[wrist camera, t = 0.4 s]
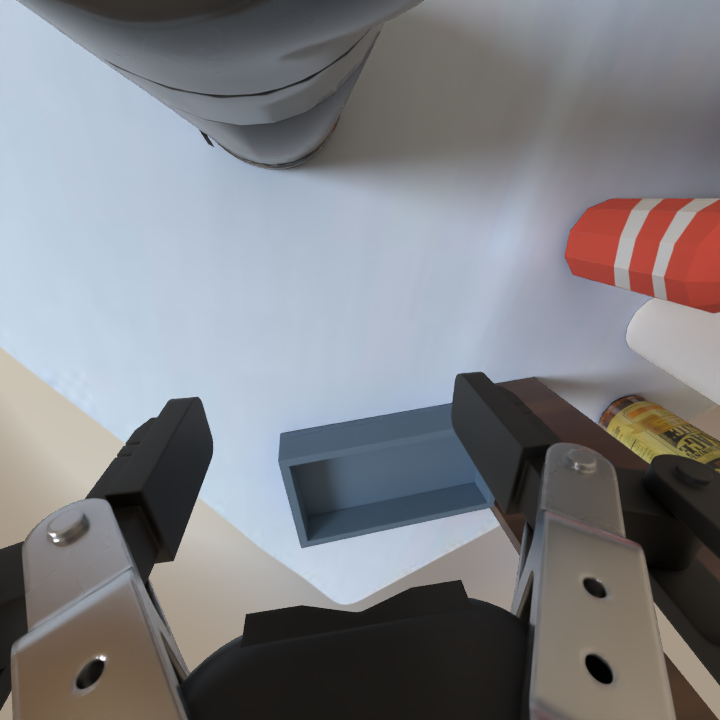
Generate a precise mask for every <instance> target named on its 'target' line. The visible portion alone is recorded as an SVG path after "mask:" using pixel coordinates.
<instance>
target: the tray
mask: <svg viewBox="0 0 720 720" xmlns="http://www.w3.org/2000/svg"><path fill="white" fill-rule="evenodd" d="M451 410H452V403H451V404H445V405H440V406H434V407H428V408H423V409H417V410H411V411H406V412H400V413H394V414H389V415H383V416H377V417H372V418H366V419H360V420H355V421H349V422H343V423H338V424H332V425H326V426H321V427H315V428H309V429H304V430H298V431H292V432H287V433H281V434H280V446H279V459H278V462H279V466H280V470H281V474H282V477H283V481H284V485H285V489H286V493H287V496H288V500H289V504H290V508H291V511H292V515H293V519H294V523H295V526H296V530H297V534H298V538H299V541H300V545H301V548H305V547H309V546H314V545H319V544H323V543H328V542H333V541H337V540H342V539H347V538H351V537H356V536H361V535H365V534H370V533H375V532H379V531H384V530H389V529H393V528H398V527H403V526H407V525H412V524H416V523H421V522H426V521H430V520H435V519H440V518H444V517H449V516H454V515H458V514H463V513H468V512H472V511H477V510H482V509H486V508H491V507H494V502H495V498H494V496H493V494H492V493H491V491H490V489H489V488H488V486H487V484H486V483H485V481H484V479H483V478H482V476H481V475H480V473H479V471H478V470H477V468H476V466H475V465H474V463H473V461H472V460H471V458H470V456H469V455H468V453H467V451H466V450H465V448H464V446H463V445H462V443H461V441H460V440H459V438H458V436H457V435H456V433H455V431H454V429H453V426H452V421H451Z"/></svg>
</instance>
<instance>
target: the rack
mask: <svg viewBox="0 0 720 720" xmlns="http://www.w3.org/2000/svg"><path fill="white" fill-rule="evenodd" d="M495 385H500V386H502V387H504V388H505V389H507V390H509V391H511V392H513V393H514V394H515V395H516V396H518V397H519V398H520V399H521V400H522V401H523V402H524V405H527V406H528V407H529V408H530V409H531V410H532V411H533V414H536V415H537V416H538V417H539V418H540V419H541V420H542V421H543V422H544V423H545V424H546V425H547V426H548V427H549V428H550V429H551V430H552V431H553V432H554V433H555V434H556V435H557V436H558V437H559V438H560V439H561V440H562V441H563V442H564V443H574V444H579V445H582V446H585V447H588V448H590V449H592V450H594V451H596V452H598V453H599V454H601V455H602V456H604V457H605V458H606V459H607V460H608V461H609V462H610V463H611V464H612V465H613V466H615V467H623V468H631V469H639V470H647V469H648V467H649V465H650V464H649V463H648V462H646V461H645V460H644V459H642V458H641V457H640V456H638V455H637V454H636V453H634V452H633V451H632V450H630V449H629V448H628V447H626V446H625V445H624V444H622V443H621V442H620V441H619V440H617V439H616V438H615V437H613V436H612V435H611V434H609V433H608V432H607V431H605V430H604V429H603V428H601V427H600V426H599V425H597V424H596V423H595V422H593V421H592V420H591V419H589V418H588V417H587V416H585V415H584V414H583V413H581V412H580V411H579V410H577V409H576V408H575V407H573V406H572V405H571V404H569V403H568V402H567V401H565V400H564V399H563V398H561V397H560V396H559V395H557V394H556V393H555V392H553V391H552V390H551V389H549V388H548V387H547V386H545V385H544V384H543V383H541V382H540V381H539V380H537V379H536V378H535V377H532V378H526V379H520V380H514V381H509V382H503V383H497V384H495ZM490 509H491V510H492V512H493V514H494V515H495V517H496V518H497V520H498V522H499V523H500V525H501V527H502V528H503V530H504V531H505V533H506V534H507V536H508V538H509V539H510V541H511V543H512V544H513V546H514V547H515V549H516V551H517V552H518V554H519V555H520V551H521V544H522V538H523V531H524V526H525V523H526V519H525V518H524V516H523V515H522V513H521V514H514V515H507V516H505V514H504V513H503V511H502V509H501V508H500V506H499V504H498V503H497V501H496V499H495V502H494V507H491V508H490ZM696 557H697V558H698V559H699V560H700V561H701V562H702V563H703V564H704V565H705V566H706V567H707V568H708V569H709V570H710V571H711V572H712V573H713V574H714V575H715V576H716V577H717V578H718V579H719V581H720V559H719V558H718V557H717V556H716V555H715V554H714V553H713V552H711V551H710V550H709V549H708V548H707V547H706V546H705V545H703V546H702V548H701V549H700V551H699V552H698V554H697V555H696ZM663 653H664V651H663ZM664 658H665V663H666V668H667V674H668V679H669V684H670V689H671V694H672V699H673V705H674V710H675V715H676V720H718V718H717V717H716V716H715V715H714V713H713V712H712V711H711V710H710V708H709V707H708V706H707V705H706V703H705V702H704V701H703V700H702V698H701V697H700V696H699V695H698V694H697V692H696V691H695V690H694V689H693V687H692V686H691V685H690V684H689V682H688V681H687V680H686V679H685V677H684V676H683V675H682V674H681V673H680V671H679V670H678V669H677V667H676V666H675V665H674V664H673V663H672V662H671V660H670V659H669V658H668V656H667V655H666V654H665V653H664Z"/></svg>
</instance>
